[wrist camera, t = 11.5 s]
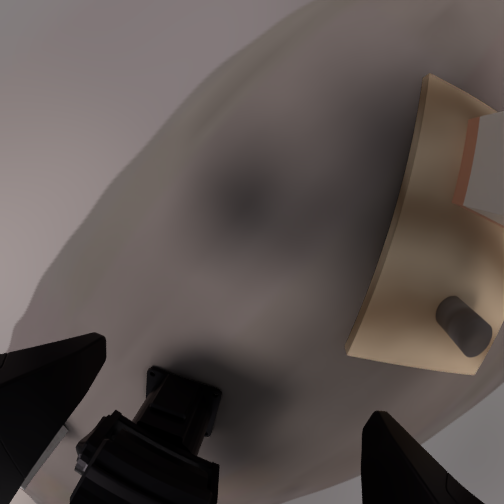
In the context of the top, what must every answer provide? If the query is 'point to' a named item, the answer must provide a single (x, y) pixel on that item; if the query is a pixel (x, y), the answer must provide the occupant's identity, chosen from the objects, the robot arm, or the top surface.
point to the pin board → (435, 254)
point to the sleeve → (483, 169)
